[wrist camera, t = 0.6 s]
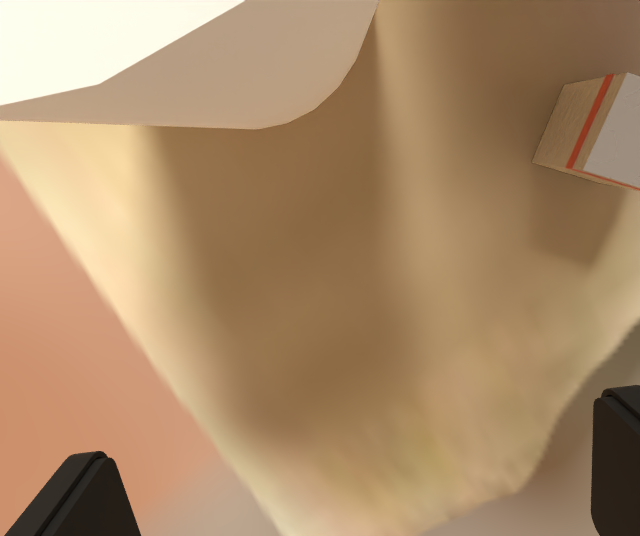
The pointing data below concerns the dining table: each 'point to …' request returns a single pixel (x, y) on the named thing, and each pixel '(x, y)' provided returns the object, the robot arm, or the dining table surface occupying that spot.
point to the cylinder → (175, 60)
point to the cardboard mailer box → (596, 131)
